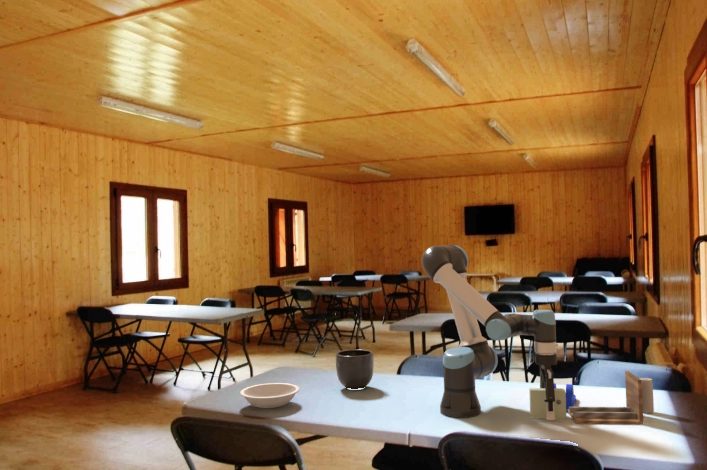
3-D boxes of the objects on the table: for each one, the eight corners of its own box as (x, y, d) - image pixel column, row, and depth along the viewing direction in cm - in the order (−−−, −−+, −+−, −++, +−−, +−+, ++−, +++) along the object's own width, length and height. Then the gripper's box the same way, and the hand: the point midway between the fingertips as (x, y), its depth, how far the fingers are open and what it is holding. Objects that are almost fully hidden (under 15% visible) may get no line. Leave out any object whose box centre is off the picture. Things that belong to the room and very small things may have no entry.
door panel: (531, 418, 206) (530, 390, 206) (530, 415, 209) (529, 388, 209) (566, 419, 204) (565, 390, 204) (564, 416, 207) (563, 388, 207)
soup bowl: (228, 408, 232) (228, 391, 232) (274, 395, 250) (274, 380, 250) (265, 418, 216) (265, 401, 216) (312, 404, 234) (311, 388, 234)
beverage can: (648, 414, 206) (646, 381, 206) (636, 411, 210) (634, 378, 210) (656, 412, 208) (655, 379, 208) (644, 409, 212) (643, 376, 212)
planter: (375, 392, 249) (373, 355, 249) (335, 393, 249) (334, 357, 249) (374, 383, 266) (373, 348, 266) (337, 384, 266) (336, 349, 266)
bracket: (572, 411, 213) (571, 386, 214) (548, 409, 217) (548, 385, 217) (576, 398, 230) (575, 376, 230) (555, 397, 233) (554, 374, 233)
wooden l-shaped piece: (575, 423, 199) (574, 379, 199) (567, 411, 212) (565, 371, 213) (643, 424, 195) (641, 380, 195) (630, 412, 209) (628, 371, 209)
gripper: (562, 358, 196) (565, 425, 195) (551, 347, 217) (553, 407, 217) (539, 359, 197) (542, 425, 197) (530, 347, 218) (532, 407, 218)
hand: (548, 415), depth 207 cm, fingers open, 9 cm apart
